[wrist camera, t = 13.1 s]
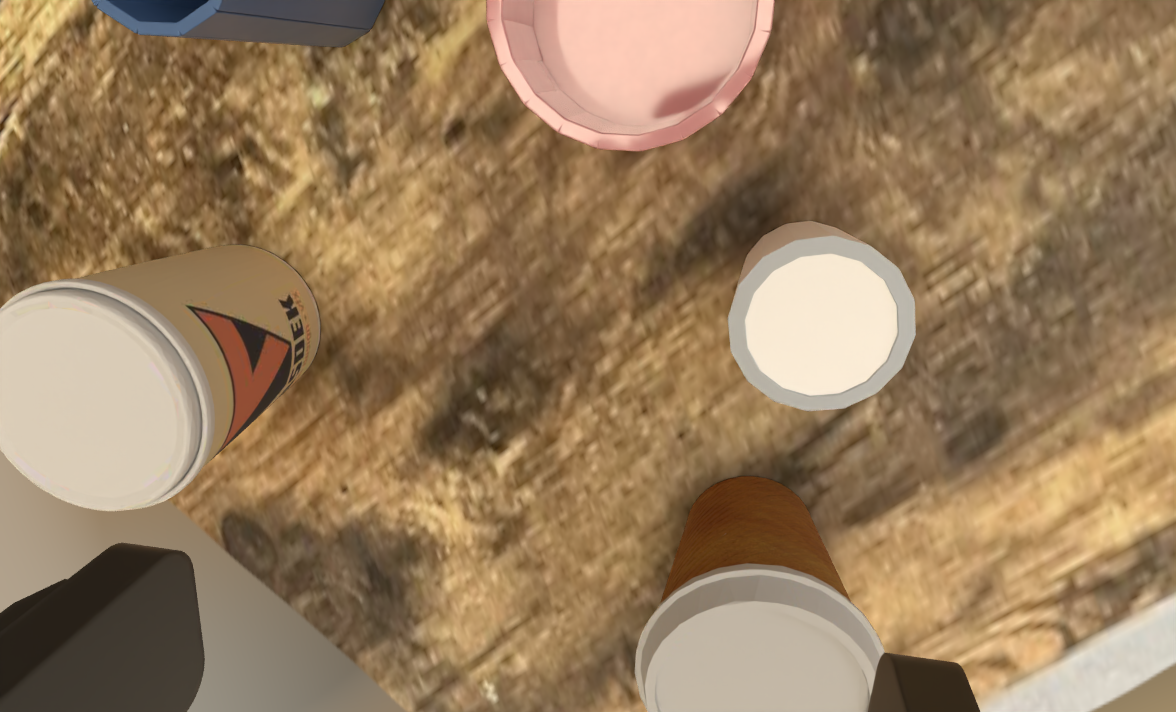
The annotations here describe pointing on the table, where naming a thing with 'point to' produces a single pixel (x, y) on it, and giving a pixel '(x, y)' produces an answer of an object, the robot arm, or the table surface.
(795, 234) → the white cylinder
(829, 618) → the disposable coffee cup
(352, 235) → the table surface
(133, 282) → the coffee cup
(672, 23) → the pink cup
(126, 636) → the robot arm
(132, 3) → the blue cup
